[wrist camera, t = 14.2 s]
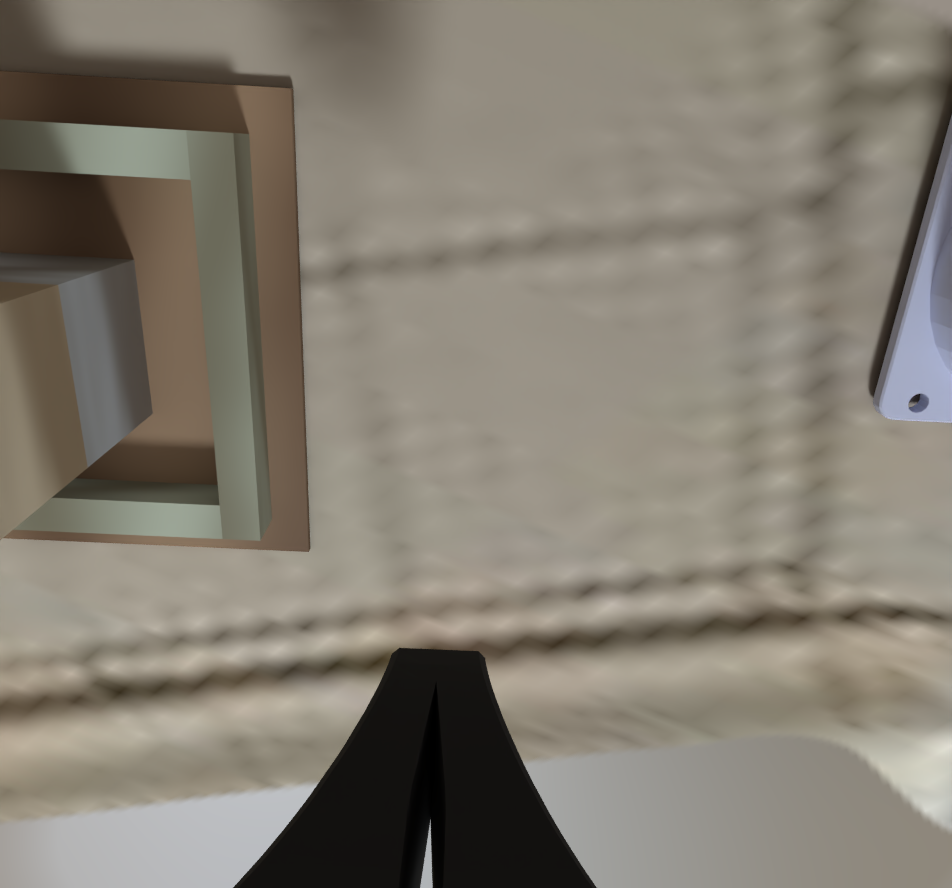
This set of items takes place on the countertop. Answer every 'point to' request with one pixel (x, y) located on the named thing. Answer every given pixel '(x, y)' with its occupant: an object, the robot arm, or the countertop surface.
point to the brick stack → (65, 372)
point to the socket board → (176, 297)
